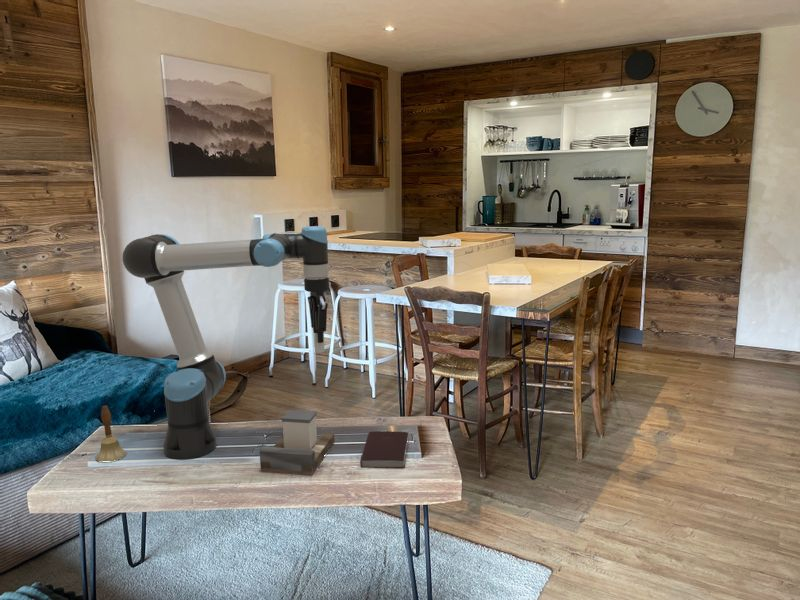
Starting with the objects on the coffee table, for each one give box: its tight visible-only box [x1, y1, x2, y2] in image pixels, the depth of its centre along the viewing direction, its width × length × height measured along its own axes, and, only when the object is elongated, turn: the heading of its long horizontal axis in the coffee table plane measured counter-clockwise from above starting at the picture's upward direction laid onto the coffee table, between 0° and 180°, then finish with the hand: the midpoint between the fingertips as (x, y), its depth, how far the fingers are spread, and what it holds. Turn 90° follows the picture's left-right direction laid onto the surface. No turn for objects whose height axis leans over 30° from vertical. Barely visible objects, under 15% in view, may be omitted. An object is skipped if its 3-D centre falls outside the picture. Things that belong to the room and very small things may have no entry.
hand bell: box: [95, 405, 127, 462], centre depth 181 cm, size 8×8×16 cm
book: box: [359, 430, 409, 469], centre depth 182 cm, size 12×19×3 cm, turn 175°
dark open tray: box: [259, 432, 335, 476], centre depth 180 cm, size 21×15×6 cm
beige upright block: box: [280, 409, 318, 450], centre depth 181 cm, size 6×8×11 cm
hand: (319, 351), depth 193 cm, fingers closed
